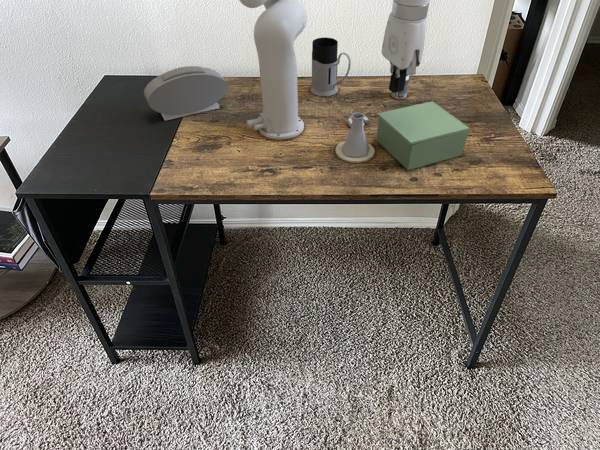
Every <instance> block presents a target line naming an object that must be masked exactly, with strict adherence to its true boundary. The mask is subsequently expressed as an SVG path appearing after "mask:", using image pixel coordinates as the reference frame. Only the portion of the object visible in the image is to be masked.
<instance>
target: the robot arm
mask: <svg viewBox="0 0 600 450" xmlns="http://www.w3.org/2000/svg"><path fill="white" fill-rule="evenodd" d="M238 1H239V2H240V3H241V4H242V5H243V6H244V7H246V8H249V9H256V8H259V7H261V6H263V7H264V8H265V10H264V11H262V12H261V14H260V15H259V16H258V17H257V19H256V21H255V23H254V27H253V41H254V45H255V49H256V55H257V59H258V66H259V67H258V68H259V69H258V70H259V77H260V78H259V79H260V90H261V91H260V92H261V101H262V112H260V113H259V116H257V118H255V119H253V118H252V119H249V120H248V119H247V120H246V126H247V128H248V129H249V128H253V129H254V130H255V131H257V130H258V132H259V133H260V134H261V135H262V136H264V137H265V138H268V139H271V140H275V141H276V140H277V141H281V140H291V139H293V138H295V137H298V136H299V135H301V134H302V133H303V132H304V129H305V123H304V121H303V120H302V119H301V118H300V117H299V92H298V90H299V89H298V64H297V63H298V62H297V56H296V51H295V41H296V40H297V38H298V37H299V36H300V34H301V33H303V31H304V29H305V28H306V26H307V21H308V15H307V11H306V7H305V5H304V2H303V1H302V0H238ZM430 1H431V0H392V4H391V6H392V7H391V11H390V13H389V15H388V19H387V21H386V26H385V30H384V34H383V40H382V45H381V55H382V56H383V58H384V59H386V60H387V61H389V64H390V67H389V72H390V78H389V79H390V80H389V86H388V87H389V88H388V90H389V91H390V93H391V92H393V93H395V92H400V91H403V90H404V86H405V80H406V76H414V75H416V73H417V68H418V67H420V65H421V63H422V60H423V55H424V49H425V43H426V34H427V33H426V31H427V17H428V14H429V13H428V12H429V7H430Z"/></svg>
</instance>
